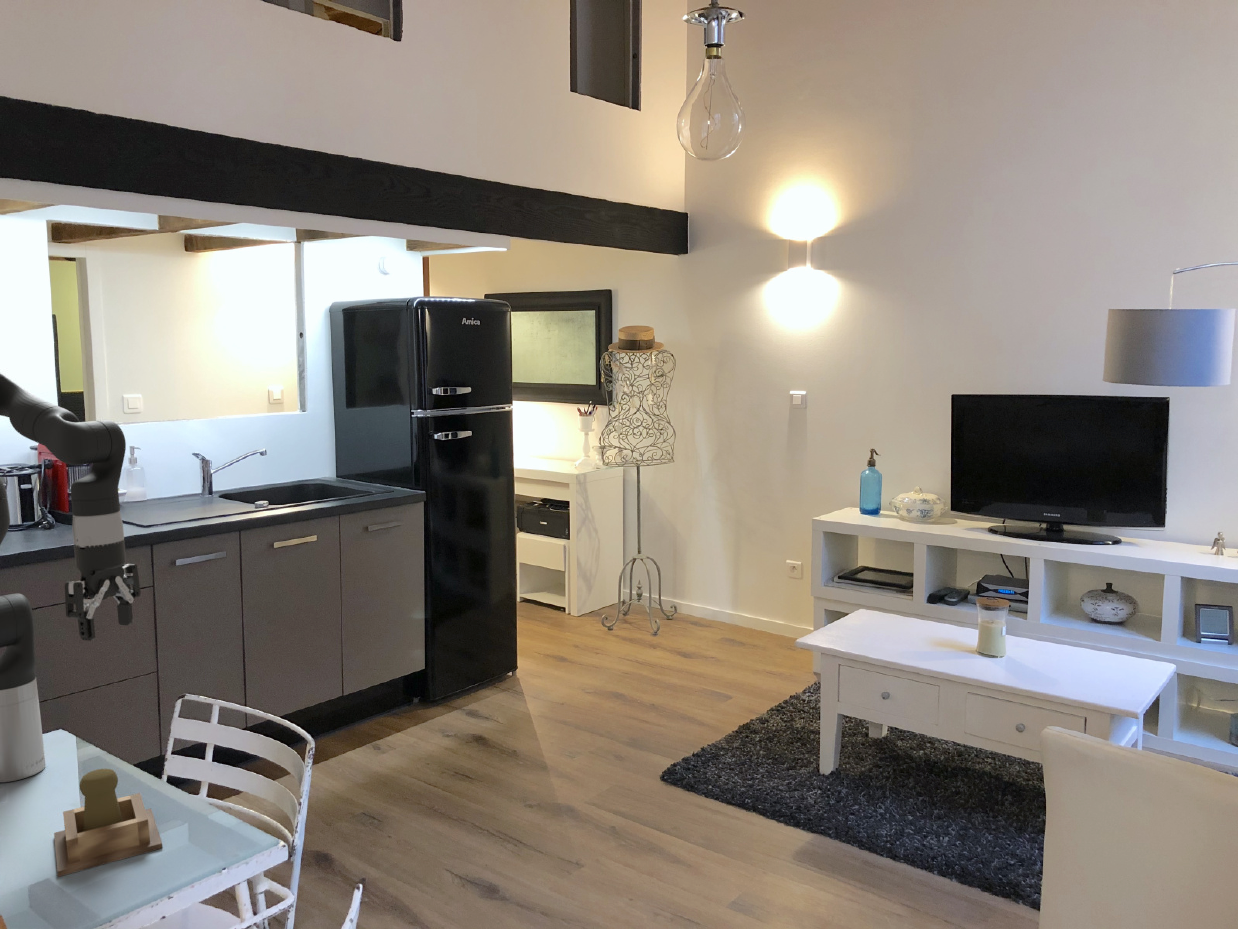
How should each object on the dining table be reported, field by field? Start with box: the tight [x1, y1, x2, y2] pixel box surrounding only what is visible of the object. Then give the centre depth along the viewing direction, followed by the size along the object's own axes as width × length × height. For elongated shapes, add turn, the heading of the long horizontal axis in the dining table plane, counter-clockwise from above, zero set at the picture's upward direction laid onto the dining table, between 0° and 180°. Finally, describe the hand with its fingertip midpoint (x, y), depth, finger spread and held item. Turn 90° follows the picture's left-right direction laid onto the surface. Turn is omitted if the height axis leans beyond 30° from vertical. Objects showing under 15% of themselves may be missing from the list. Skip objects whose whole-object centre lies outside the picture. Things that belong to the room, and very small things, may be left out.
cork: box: [79, 768, 123, 832], centre depth 149 cm, size 6×6×11 cm
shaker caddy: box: [53, 792, 163, 877], centre depth 150 cm, size 14×14×4 cm
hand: (107, 632), depth 163 cm, fingers open, 8 cm apart
